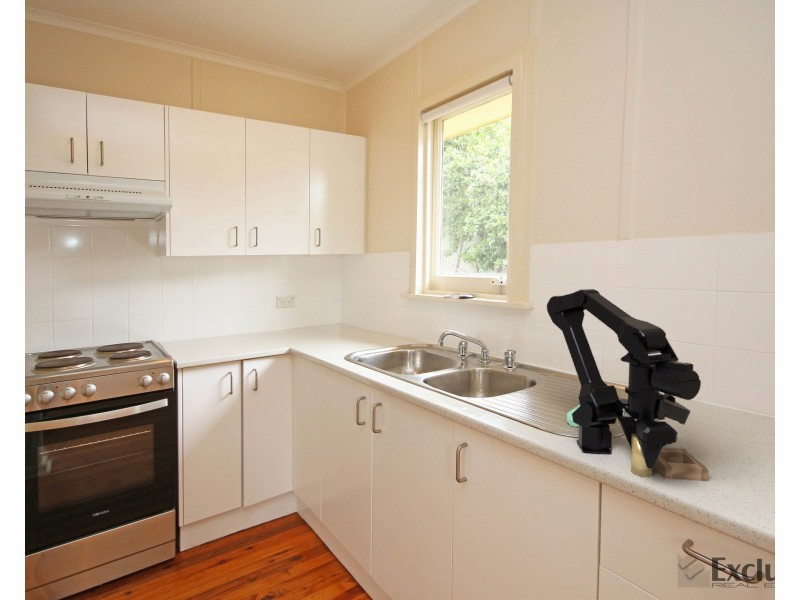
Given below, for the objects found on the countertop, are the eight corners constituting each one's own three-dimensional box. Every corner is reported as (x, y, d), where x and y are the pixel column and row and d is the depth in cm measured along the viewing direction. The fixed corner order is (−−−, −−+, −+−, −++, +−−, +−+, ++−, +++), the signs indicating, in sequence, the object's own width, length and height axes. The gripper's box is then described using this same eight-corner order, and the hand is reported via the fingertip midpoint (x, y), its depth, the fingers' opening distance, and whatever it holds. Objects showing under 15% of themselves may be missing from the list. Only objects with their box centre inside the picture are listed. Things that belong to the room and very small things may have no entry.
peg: (634, 477, 94) (635, 440, 93) (627, 468, 98) (628, 432, 97) (655, 478, 93) (656, 440, 93) (647, 469, 97) (648, 433, 97)
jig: (665, 478, 93) (665, 466, 93) (646, 457, 103) (646, 447, 103) (707, 480, 92) (707, 469, 92) (684, 459, 102) (684, 448, 101)
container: (579, 407, 120) (608, 385, 139) (559, 411, 124) (590, 389, 143) (587, 429, 119) (615, 404, 138) (567, 432, 123) (597, 407, 142)
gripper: (709, 401, 84) (705, 481, 85) (665, 375, 102) (663, 442, 103) (645, 399, 85) (642, 478, 87) (613, 374, 104) (612, 440, 105)
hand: (641, 458), depth 95 cm, fingers open, 9 cm apart
